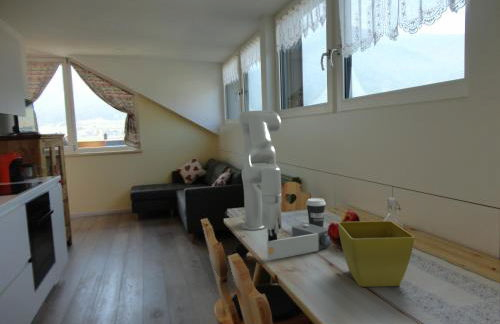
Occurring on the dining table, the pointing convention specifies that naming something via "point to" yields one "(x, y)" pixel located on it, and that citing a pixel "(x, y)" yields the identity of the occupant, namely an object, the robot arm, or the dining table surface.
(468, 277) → the dining table surface
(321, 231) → the camera body
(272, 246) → the side door
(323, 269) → the dining table surface
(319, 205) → the coffee cup
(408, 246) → the flower pot
